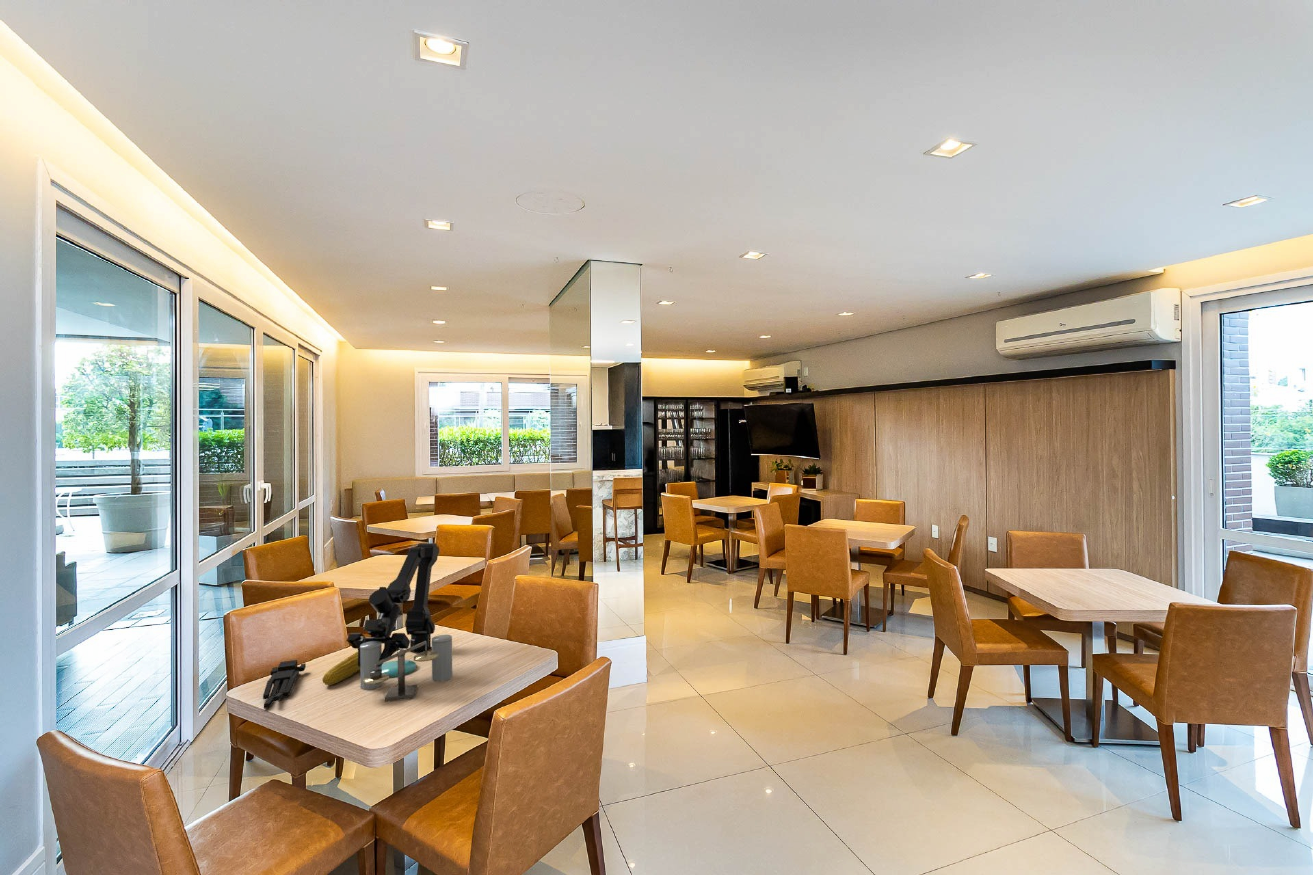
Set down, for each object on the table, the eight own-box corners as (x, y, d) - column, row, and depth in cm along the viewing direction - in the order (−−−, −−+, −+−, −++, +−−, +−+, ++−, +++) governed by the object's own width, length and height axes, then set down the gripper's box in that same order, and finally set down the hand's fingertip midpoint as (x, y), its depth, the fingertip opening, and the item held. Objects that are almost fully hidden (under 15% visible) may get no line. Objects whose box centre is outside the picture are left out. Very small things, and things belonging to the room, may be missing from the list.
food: (357, 665, 206) (357, 647, 206) (373, 665, 205) (373, 647, 206) (317, 689, 185) (317, 669, 185) (334, 689, 184) (334, 670, 185)
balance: (439, 685, 185) (439, 636, 186) (436, 695, 178) (436, 644, 178) (366, 693, 180) (366, 642, 180) (360, 704, 172) (360, 651, 173)
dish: (399, 661, 208) (399, 657, 208) (424, 667, 202) (423, 663, 202) (365, 673, 197) (365, 669, 197) (389, 680, 190) (389, 676, 190)
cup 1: (374, 680, 191) (373, 639, 191) (386, 683, 188) (385, 642, 188) (356, 687, 185) (355, 645, 186) (368, 690, 182) (367, 648, 183)
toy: (290, 710, 172) (305, 672, 200) (290, 694, 172) (305, 657, 200) (251, 716, 168) (272, 676, 196) (251, 700, 168) (272, 662, 196)
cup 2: (443, 673, 196) (443, 633, 196) (456, 676, 193) (456, 636, 193) (427, 679, 191) (427, 638, 191) (440, 682, 187) (440, 641, 188)
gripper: (349, 608, 192) (328, 653, 180) (405, 607, 190) (387, 654, 179) (363, 625, 199) (344, 670, 188) (417, 625, 198) (401, 670, 187)
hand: (368, 666), depth 185 cm, fingers closed on cup 1, 6 cm apart
